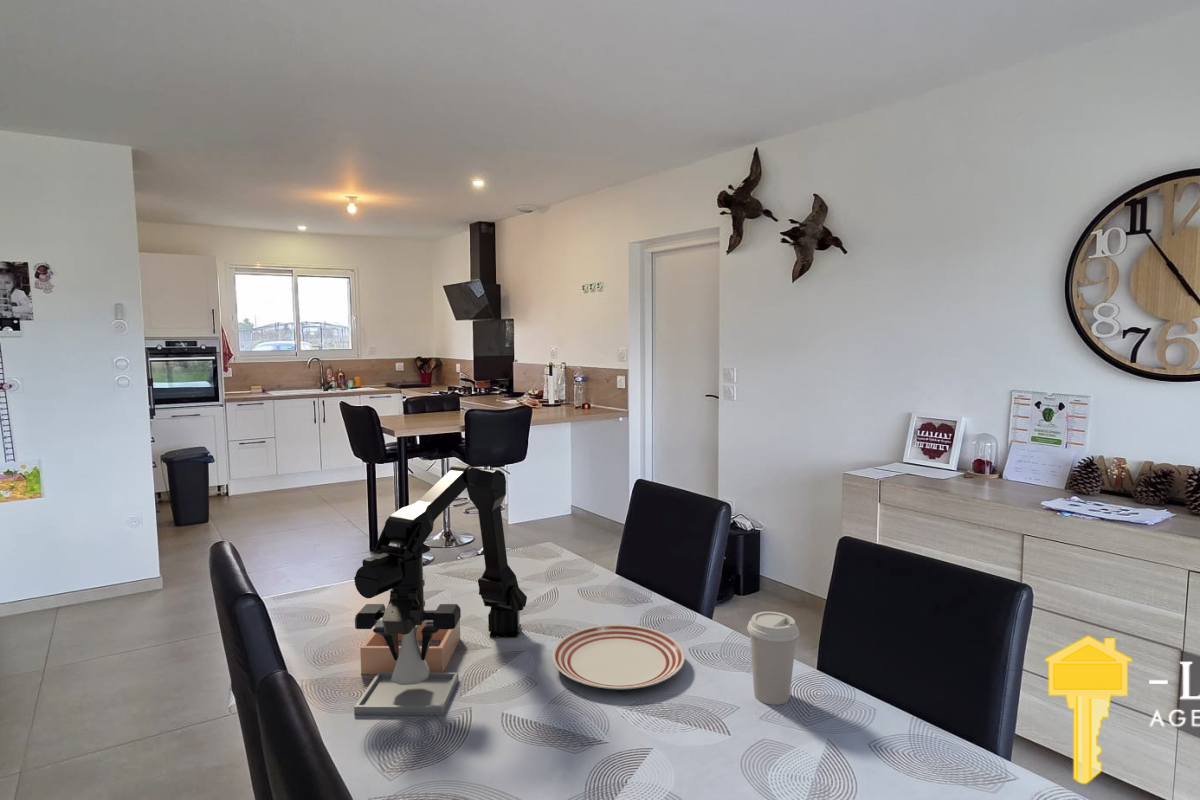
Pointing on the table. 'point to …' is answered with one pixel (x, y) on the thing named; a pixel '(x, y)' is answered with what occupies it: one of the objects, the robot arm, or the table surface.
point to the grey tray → (407, 696)
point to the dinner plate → (618, 656)
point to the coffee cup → (772, 655)
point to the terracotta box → (381, 658)
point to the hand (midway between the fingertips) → (410, 659)
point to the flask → (410, 662)
